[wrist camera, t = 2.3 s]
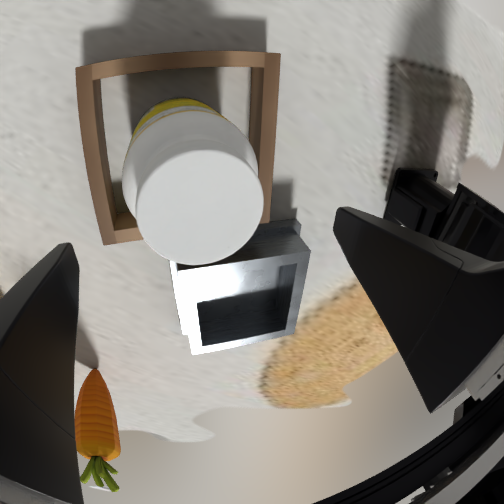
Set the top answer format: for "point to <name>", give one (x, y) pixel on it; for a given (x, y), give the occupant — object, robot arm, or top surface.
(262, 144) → the walnut collar
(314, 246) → the top surface
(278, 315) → the dark metal seat block
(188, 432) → the top surface
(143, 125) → the pill bottle
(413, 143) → the top surface
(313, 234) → the top surface
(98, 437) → the carrot
